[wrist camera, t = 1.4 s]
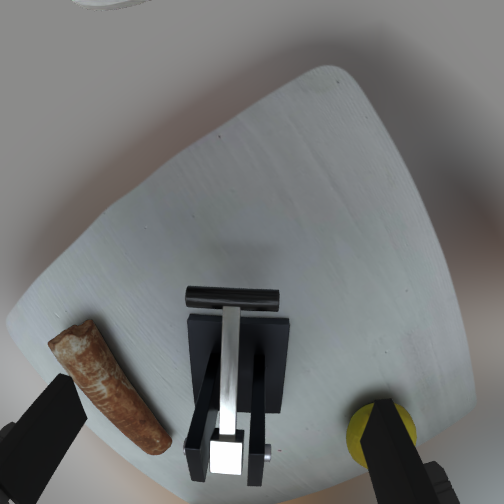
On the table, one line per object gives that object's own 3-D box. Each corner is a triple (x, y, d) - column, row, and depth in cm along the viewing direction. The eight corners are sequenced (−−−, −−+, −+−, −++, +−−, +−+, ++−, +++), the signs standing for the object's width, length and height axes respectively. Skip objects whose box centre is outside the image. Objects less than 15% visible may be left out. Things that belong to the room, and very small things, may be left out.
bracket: (189, 313, 27) (143, 408, 15) (288, 318, 27) (305, 420, 14) (196, 401, 30) (171, 495, 17) (279, 406, 29) (284, 504, 17)
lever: (192, 286, 21) (184, 284, 19) (277, 290, 21) (280, 288, 18) (189, 455, 19) (182, 469, 16) (268, 461, 18) (269, 476, 16)
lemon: (330, 401, 29) (344, 455, 21) (395, 372, 28) (423, 420, 20) (352, 449, 31) (365, 495, 24) (407, 425, 30) (427, 468, 23)
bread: (98, 307, 27) (71, 333, 22) (182, 437, 31) (173, 469, 26) (61, 321, 28) (33, 345, 23) (143, 440, 32) (131, 470, 27)
